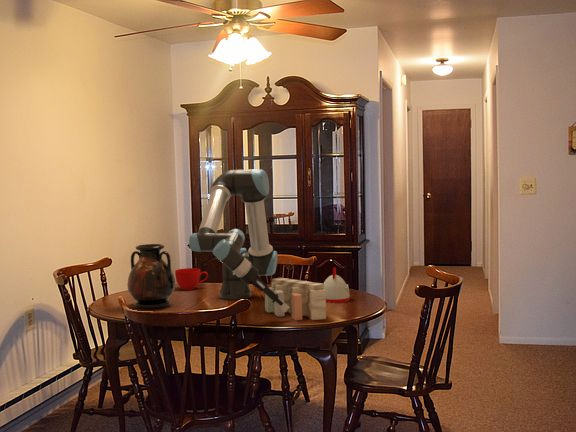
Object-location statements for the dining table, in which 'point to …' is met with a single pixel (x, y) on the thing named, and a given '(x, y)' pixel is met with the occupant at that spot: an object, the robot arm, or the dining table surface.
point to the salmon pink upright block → (296, 306)
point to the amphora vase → (151, 277)
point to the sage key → (269, 303)
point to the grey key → (277, 309)
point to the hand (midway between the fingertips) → (287, 309)
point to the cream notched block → (303, 296)
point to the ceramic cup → (188, 278)
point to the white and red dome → (336, 289)
